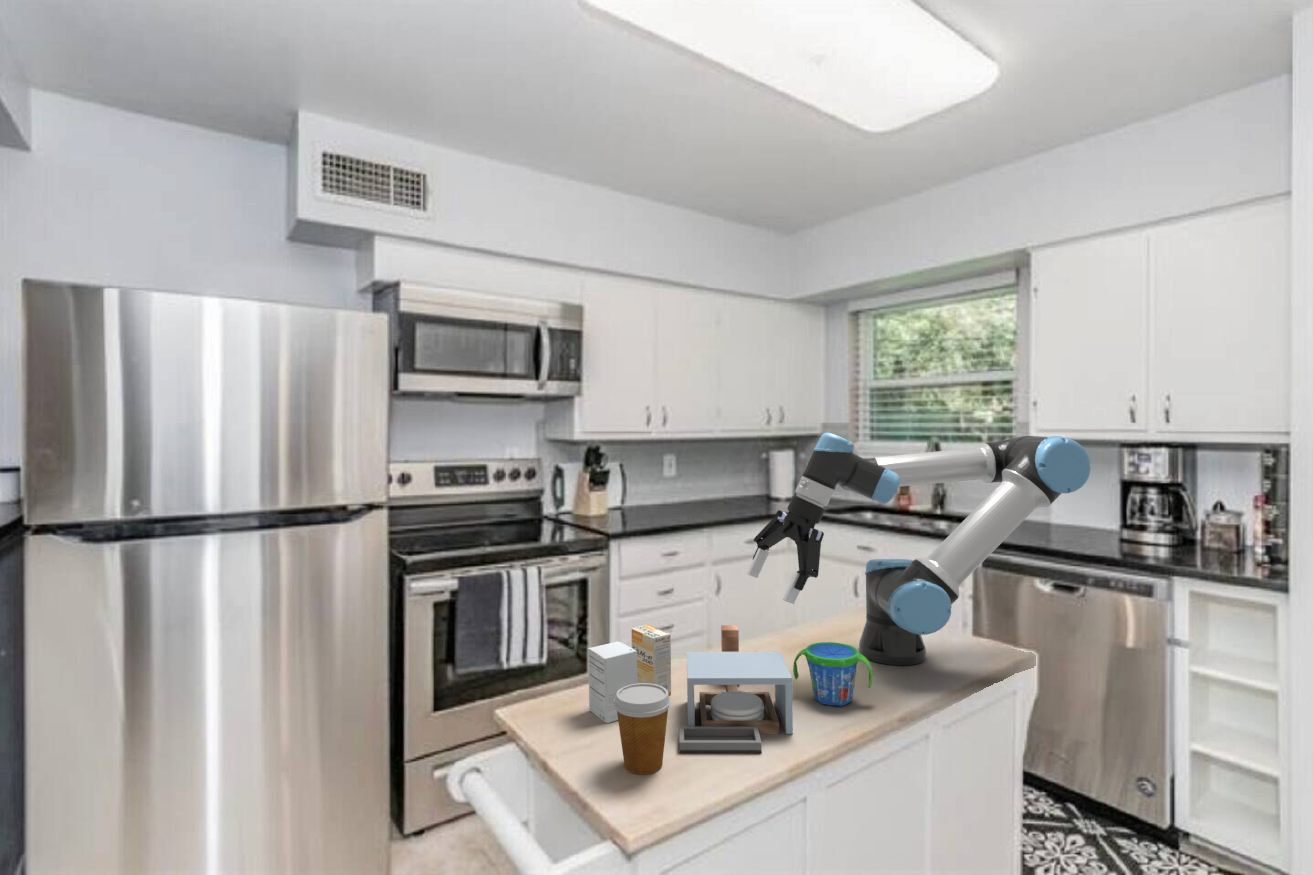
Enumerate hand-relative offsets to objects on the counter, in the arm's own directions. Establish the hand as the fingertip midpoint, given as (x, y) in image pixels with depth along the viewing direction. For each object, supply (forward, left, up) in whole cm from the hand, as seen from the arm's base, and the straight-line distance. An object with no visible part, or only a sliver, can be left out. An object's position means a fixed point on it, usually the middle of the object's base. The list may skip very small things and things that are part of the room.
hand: (769, 588), depth 147 cm
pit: (+13, +31, -20) cm, 39 cm away
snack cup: (-11, +12, -20) cm, 26 cm away
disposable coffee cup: (+26, +38, -20) cm, 50 cm away
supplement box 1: (+33, +18, -20) cm, 43 cm away
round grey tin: (+9, +20, -20) cm, 30 cm away
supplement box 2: (+26, +8, -20) cm, 34 cm away
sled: (+9, +14, -20) cm, 26 cm away
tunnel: (+9, +20, -20) cm, 29 cm away
